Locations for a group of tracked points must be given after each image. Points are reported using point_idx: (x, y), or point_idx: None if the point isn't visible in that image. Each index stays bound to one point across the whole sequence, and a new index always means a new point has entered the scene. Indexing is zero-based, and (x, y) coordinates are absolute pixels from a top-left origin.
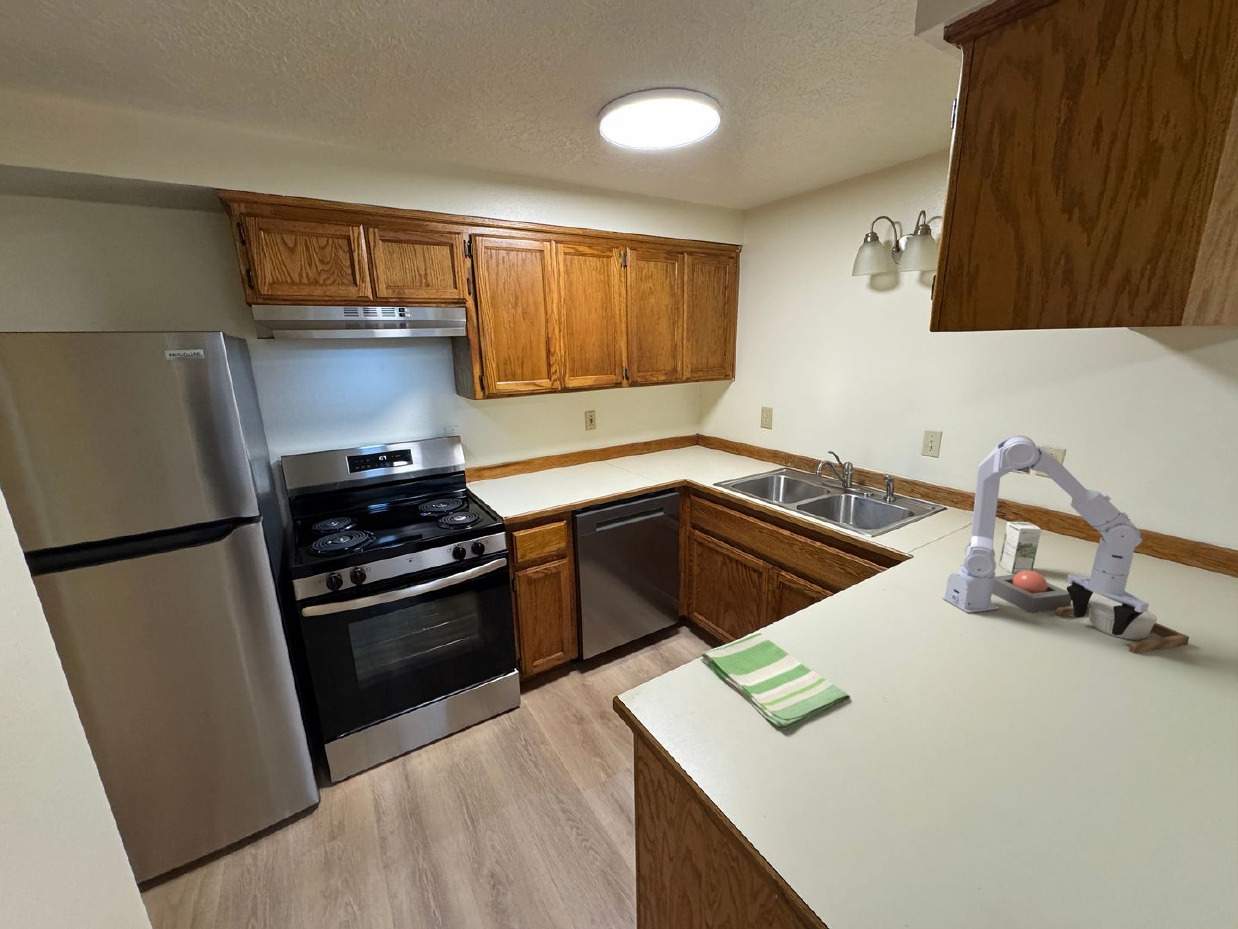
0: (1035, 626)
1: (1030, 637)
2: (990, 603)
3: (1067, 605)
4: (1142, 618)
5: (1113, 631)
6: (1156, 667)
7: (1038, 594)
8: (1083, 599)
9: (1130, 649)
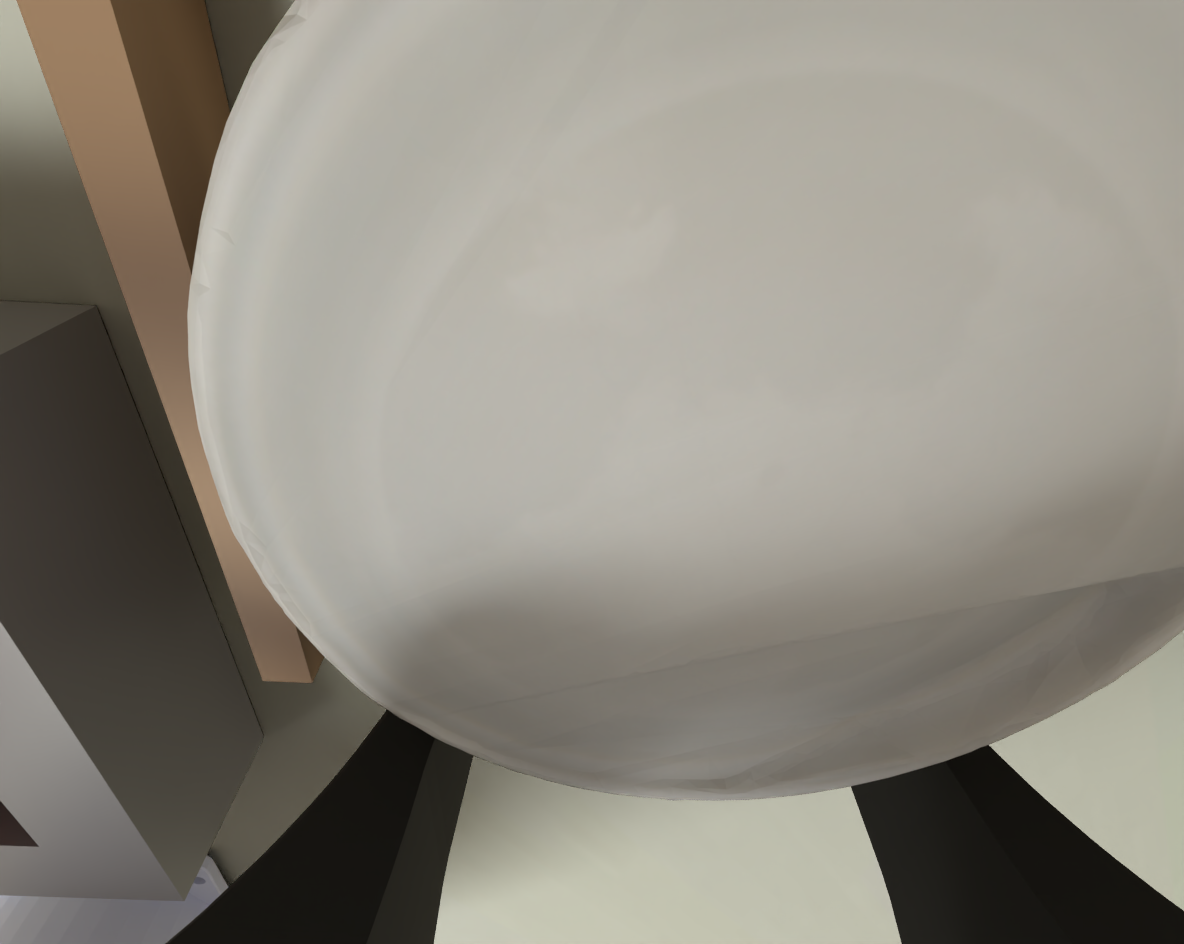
0: (462, 835)
1: (568, 919)
2: None
3: (82, 377)
4: (1141, 561)
5: None
6: (1155, 678)
7: (57, 822)
8: (418, 910)
9: None
